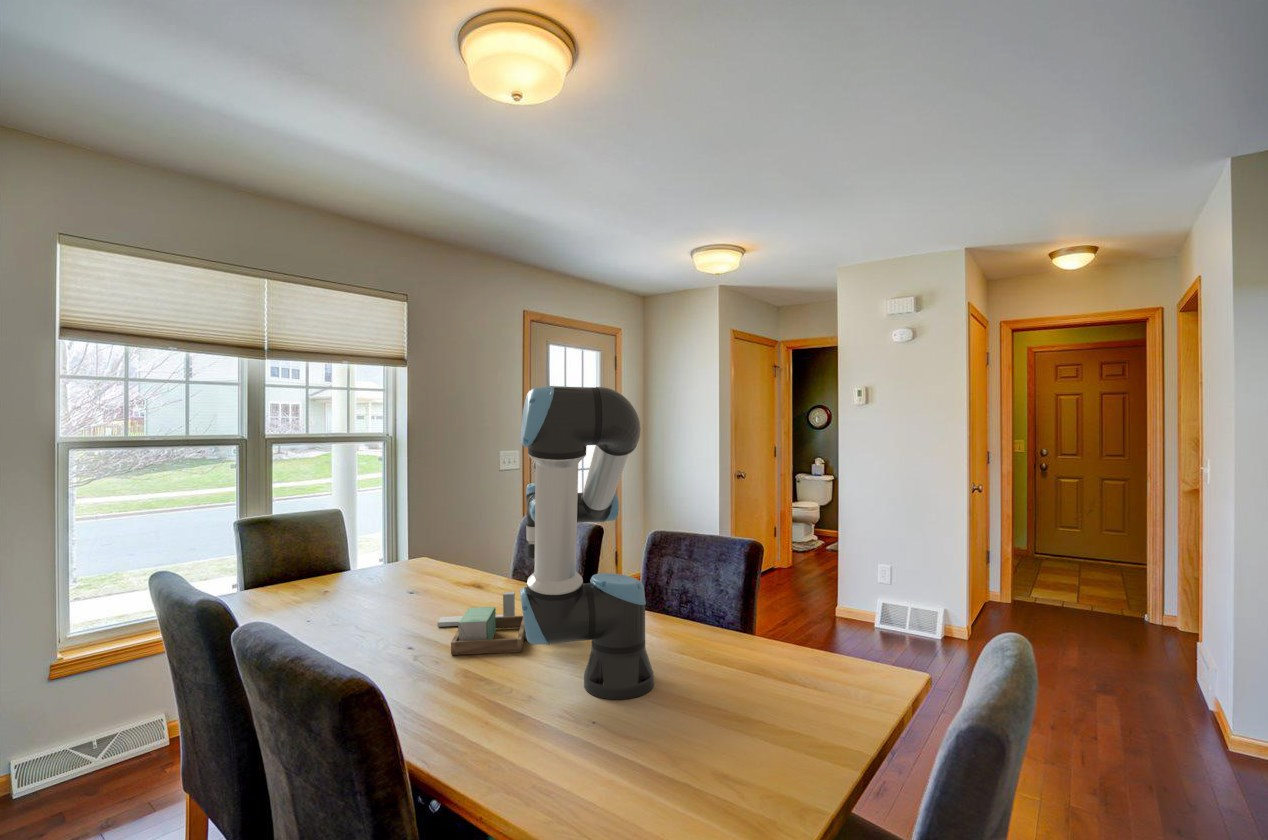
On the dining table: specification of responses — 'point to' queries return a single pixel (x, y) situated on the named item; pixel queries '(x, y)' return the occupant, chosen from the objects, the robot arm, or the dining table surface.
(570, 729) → the dining table surface
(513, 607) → the grey l-shaped bracket
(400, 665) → the dining table surface
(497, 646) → the walnut frame
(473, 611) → the box
